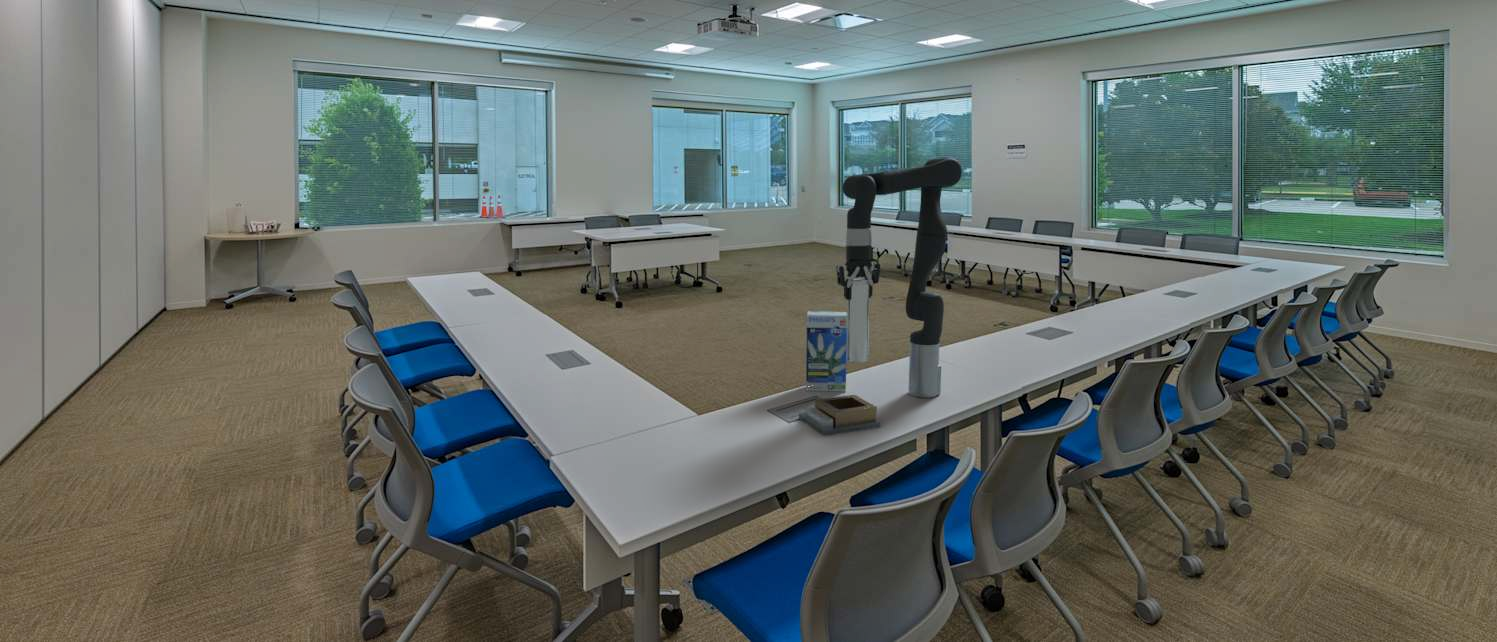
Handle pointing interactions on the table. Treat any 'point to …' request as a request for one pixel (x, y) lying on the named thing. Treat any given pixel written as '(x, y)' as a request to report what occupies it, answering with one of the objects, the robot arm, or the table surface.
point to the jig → (840, 415)
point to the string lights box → (826, 351)
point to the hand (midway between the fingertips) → (858, 298)
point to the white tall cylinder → (858, 321)
